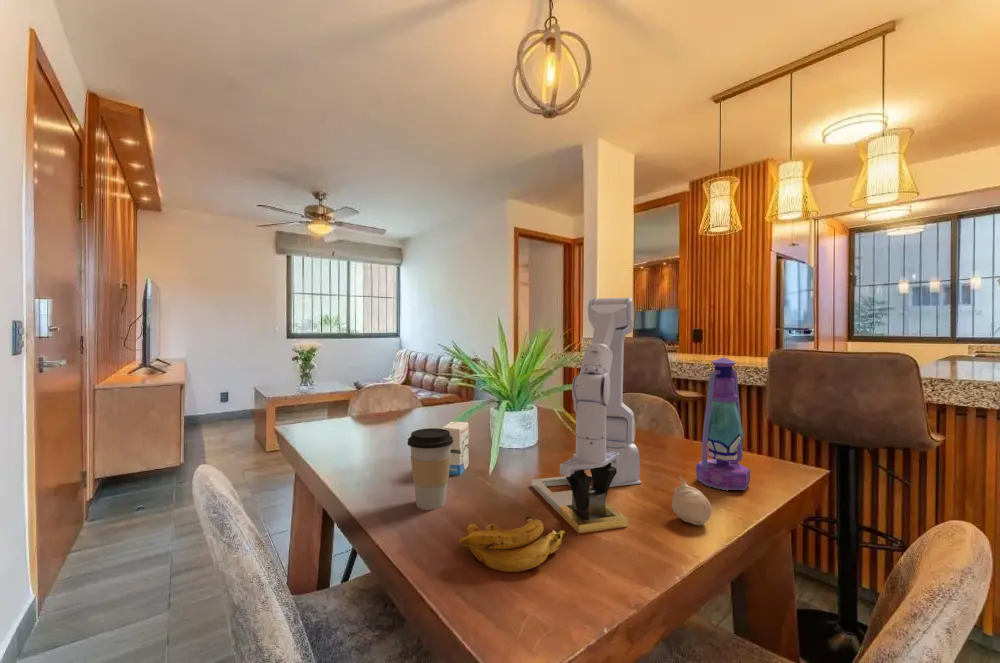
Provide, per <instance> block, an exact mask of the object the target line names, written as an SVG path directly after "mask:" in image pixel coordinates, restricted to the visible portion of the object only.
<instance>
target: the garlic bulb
mask: <svg viewBox="0 0 1000 663" xmlns="http://www.w3.org/2000/svg"><path fill="white" fill-rule="evenodd" d="M679 480H680V481H681V485H678V486H677V487H676V488H674V490H673V497H672V501H671V506H672V509H673V511H674V513H675V514H676V515H677V516H678V518H680V520H682V521H683V522H686V523H689V524H692V525H693V526H702V525H704V524H705V523H706V522H708V521H709V519H710V518H711V516H712V513H713V512H712V511H713V510H712V505H711V502H710V501H709V499H708V498H707V497H706V496H705V495H704V493H703V492H702V491H701V490H699V489H697V488H696V487H693V486H689V485H688V483H687V482H686V480H685V479H684V478H683V477H682V476H681V475H679Z"/></svg>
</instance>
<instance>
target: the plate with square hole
mask: <svg viewBox="0 0 1000 663" xmlns="http://www.w3.org/2000/svg"><path fill="white" fill-rule="evenodd" d="M566 485H568V486H569V487H571V486H570V484H569V482H568V480H567V478H566V477H565V476H563V475H562V476H554V477H547V478H546V477H545V478H536V479H535V478H533V479H531V487H533V489H535V491H536V492H537V493H538V494H539V495H540V496H541V497H542V498H543V499H544V500H545V501H546V503H548V504H549V505H550V506H551V507H552V508H553V509H554V510H555V511H556V512H557V514H558V515H560V516H561V517H562V519H564V520H565V521H566V523H568V524H569V525H570V526H571V527H572V529H573V530H575V531H576V533H577V534H578V535H579V534H584V533H585V534H586V533H592V532H599V531H606V530H613V529H620V528H627V527H628V526H629V518H628V517H627V516H625V515H624V514H623V513H621V512H620V511H619V510H617V509H616V508H615V507H614V506H612V505H611V504H609V503H608V502H607V501H606V516H605V518H598V519H591V520H584V521H582V520H581V519H580V518H579V517H578V516H577V515H576V514H575V513H574V512H573V511H572V489H571V490H563V491H553V492H552V491H551V490H550V489H549V488H548V487H556V486H566Z"/></svg>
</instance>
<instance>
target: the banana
mask: <svg viewBox="0 0 1000 663" xmlns="http://www.w3.org/2000/svg"><path fill="white" fill-rule="evenodd" d="M524 521H525V522H526V524H525V525H523V526H520V527H517V528H513V529H502V528H501V527H499V526H498V525H497V524H495V523H491V524H488V525H486V526H484V530H482V529H481V528H480V527H479V526H478V525H477V524H475V523H470V524H469V525H468V526H467V528H466V531H465V532H466V536H465V537H463V538H461V539H460V540H459V542H458V544H459V546H462V547H465V546H467V547H468V548H469V549H470V552H472V554H473V555H474V557H475V558H476V559H477V561H479V562H480V563H481V564H483V565H484V566H486V567H488V568H490V569H493V570H494V571H499V572H505V573H517V572H518V573H519V572H524V571H527V570H530V569H533V568H535V567H538V566H540V565H541V564H542V563H544V562H546V560H547V558H548V556H549V555H552V554H554V553H555V552H556V551H558V550H559V549H560V548H561V546H562V543H563V536H566V535H567V532H566V531H565V530H558V532H556V531H555V530H554V529H552V531H549V532H548V534H547V535H542V534H543V532H544V531H545V530H544V529H545V527H544V524H543V522H542V520H540V519H536V518H535V519H532V517H531V516H526V517H525V518H524Z"/></svg>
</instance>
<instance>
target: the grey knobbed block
mask: <svg viewBox="0 0 1000 663" xmlns="http://www.w3.org/2000/svg"><path fill="white" fill-rule="evenodd" d="M606 500H607V496H606V493H605V492H603V491H600V490H598V489H596V488H594V487H593V485H590V487H589V492H588V504H587V509H586V511H582V510H580V509H578V508H576V503H575V499H574V495H573V492H572V511H573V512H574V513H575V514H576V515H577V516H578V517H579V518H580V519H581V520H582V521H584V520H591V519H598V518H606V517H607V516H606V502H607V501H606Z"/></svg>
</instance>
